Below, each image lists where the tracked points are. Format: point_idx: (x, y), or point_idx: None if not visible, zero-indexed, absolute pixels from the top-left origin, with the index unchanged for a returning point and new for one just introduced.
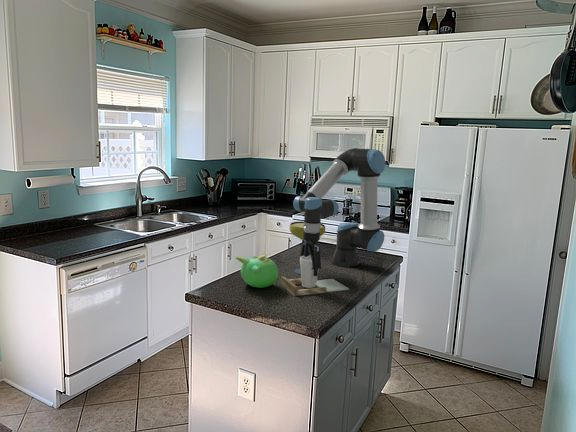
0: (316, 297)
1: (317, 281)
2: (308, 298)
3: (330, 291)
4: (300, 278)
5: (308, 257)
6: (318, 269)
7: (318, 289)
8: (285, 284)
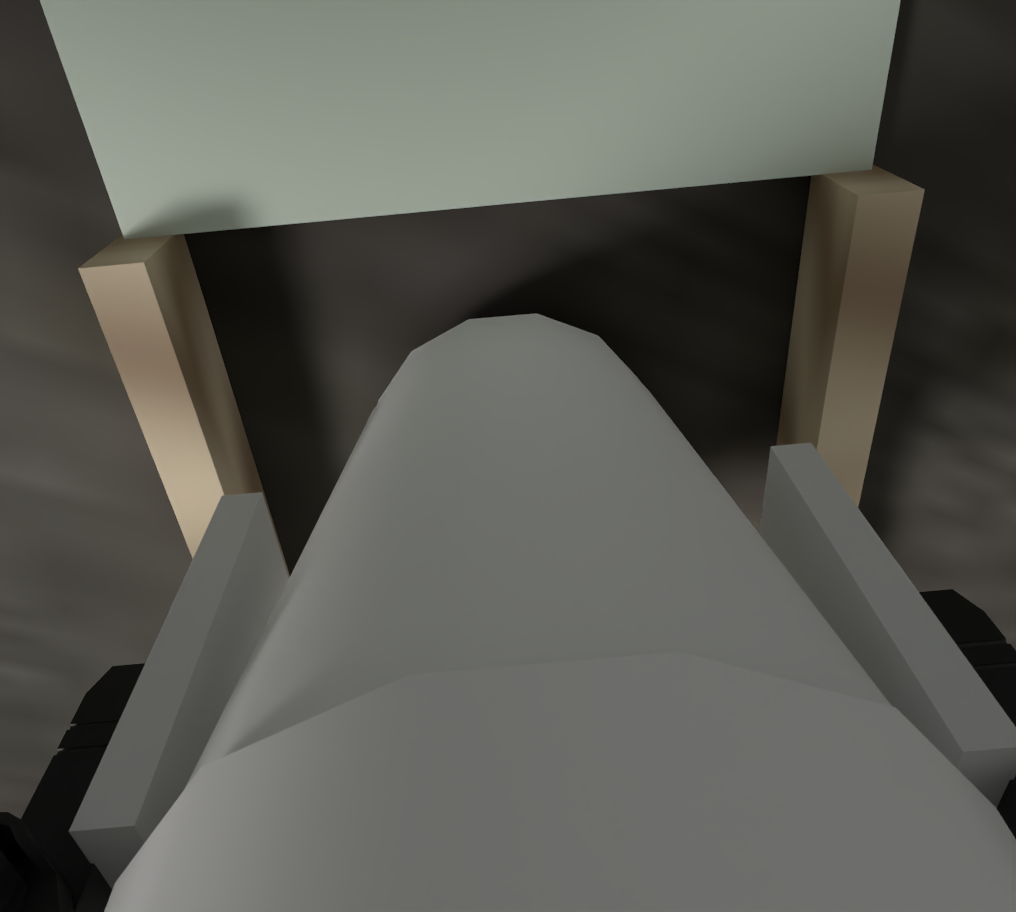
0: (986, 446)
1: (162, 90)
2: (953, 563)
3: (885, 44)
4: (181, 521)
5: None
6: (765, 565)
7: (874, 387)
8: None
